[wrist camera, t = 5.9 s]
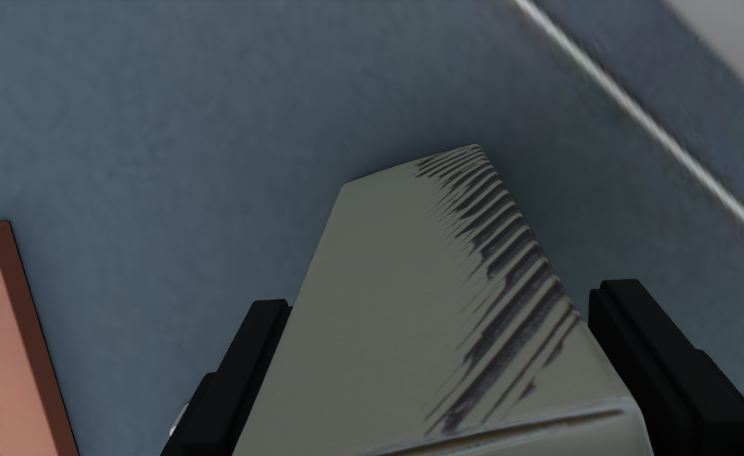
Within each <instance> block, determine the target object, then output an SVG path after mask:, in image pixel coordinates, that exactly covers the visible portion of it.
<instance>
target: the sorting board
mask: <svg viewBox="0 0 744 456" xmlns="http://www.w3.org/2000/svg"><path fill="white" fill-rule="evenodd" d="M0 456H79V455H78V452H77V449H76V445H75V442H74V439H73V435H72V432H71V429H70V425H69V422H68V418H67V415H66V412H65V408H64V405H63V402H62V398H61V395H60V392H59V388H58V385H57V382H56V378H55V375H54V372H53V368H52V365H51V362H50V358H49V355H48V351H47V348H46V345H45V341H44V338H43V335H42V331H41V328H40V325H39V321H38V318H37V315H36V311H35V308H34V305H33V301H32V298H31V295H30V291H29V288H28V284H27V281H26V278H25V274H24V271H23V268H22V264H21V261H20V258H19V254H18V251H17V248H16V244H15V241H14V238H13V234H12V231H11V227H10V224H9V222H0Z"/></svg>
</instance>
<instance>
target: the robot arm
mask: <svg viewBox="0 0 744 456" xmlns="http://www.w3.org/2000/svg"><path fill="white" fill-rule="evenodd" d="M292 309H293V306H290V307H288V304H287V301H286V300H285V299H276V300H259V301H254V302H253V304H252V306H251V307H250V309H249V311H248V313H247V315H246V317H245V319H244V321H243V323H242V324H241V326H240V328H239V330H238V332H237V334H236V336H235V338H234V339H233V341H232V343H231V345H230V347H229V349H228V351H227V353H226V355H225V356H224V358H223V360H222V362H221V364H220V366H219V368H218V370H217V372H213V373H208V374H206V375H205V376H204V378H203V379H202V381H201V383H200V385H199V386H198V388H197V390H196V392H195V393H194V395H193V397H192V399H191V401H190V402H189V404H188V406H187V408H186V410H185V411H184V413H183V415H182V417H181V419H180V420H179V422H178V424H177V426H176V428H175V429H174V431H173V433H172V435H171V437H170V438H169V440H168V442H167V444H166V446H165V447H164V449H163V451H162V453H161V455H160V456H232V454H233V452H234V450H235V447H236V445H237V442H238V440H239V438H240V435H241V433H242V431H243V429H244V427H245V424H246V422H247V420H248V417H249V415H250V412H251V410H252V407H253V405H254V402H255V400H256V398H257V395H258V393H259V391H260V388H261V386H262V383H263V381H264V378H265V376H266V373H267V371H268V368H269V366H270V363H271V361H272V358H273V356H274V354H275V351H276V349H277V346H278V344H279V341H280V339H281V336H282V334H283V331H284V329H285V326H286V324H287V321H288V318H289V316H290V313H291V311H292ZM588 328H589V330H590V331H591V333H592V334H593V336H594V337H595V339H596V341H597V342H598V344H599V345H600V347H601V348H602V350H603V351H604V353H605V355H606V356H607V358H608V359H609V361H610V363H611V364H612V366H613V368H614V369H615V371H616V372H617V374H618V375H619V377H620V378H621V380H622V381H623V382H624V384H625V385H626V387H627V388H628V390H629V391H630V393H631V395H632V396H633V398H634V400H635V401H636V403H637V405H638V406H639V408H640V410H641V412H642V415H643V418H644V421H645V425H646V429H647V433H648V436H649V440H650V443H651V447H652V450H653V454H654V456H744V397H743V396H742V394H741V393H740V392H739V391H738V390H737V389H736V387H735V386H734V385H733V384H732V383H731V382H730V380H729V379H728V378H727V377H726V376H725V374H724V373H723V372H722V371H721V370H720V369H719V367H718V366H717V365H716V364H715V363H714V362H713V360H712V359H711V358H710V357H709V356H708V355H707V354H706V353H705V352H704V351H703V350H699V349H695V348H694V346H693V345H692V344H691V343H690V342H689V340H688V339H687V338H686V337H685V336H684V334H683V333H682V332H681V331H680V330H679V328H678V327H677V326H676V325H675V324H674V322H673V321H672V320H671V319H670V318H669V316H668V315H667V314H666V313H665V312H664V311H663V309H662V308H661V307H660V306H659V305H658V303H657V302H656V301H655V300H654V299H653V297H652V296H651V295H650V294H649V293H648V291H647V290H646V289H645V288H644V287H643V285H642V284H641V283H640V282H639V281H638V280H637V279H621V280H604V281H602V282H601V284H600V288H599V289H591V291H590V294H589V314H588Z"/></svg>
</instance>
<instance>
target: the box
mask: <svg viewBox="0 0 744 456" xmlns="http://www.w3.org/2000/svg"><path fill="white" fill-rule="evenodd" d="M232 456H654V454H653V450H652V447H651V443H650V440H649V436H648V433H647V429H646V425H645V421H644V418H643V415H642V412H641V410H640V408H639V406H638V405H637V403H636V401H635V400H634V398H633V396H632V395H631V393H630V391H629V390H628V388H627V387H626V385H625V384H624V382H623V381H622V380H621V378H620V377H619V375H618V374H617V372H616V371H615V369H614V368H613V366H612V364H611V363H610V361H609V359H608V358H607V356H606V355H605V353H604V351H603V350H602V348H601V347H600V345H599V344H598V342H597V341H596V339H595V337H594V336H593V334H592V333H591V331H590V330H589V328H588V327H587V325H586V324H585V322H584V321H583V319H582V317H581V316H580V314H579V312H578V310H577V308H576V306H575V305H574V303H573V302H572V301H571V299H570V298H569V296H568V294H567V293H566V291H565V289H564V288H563V285H562V283H561V281H560V280H559V278H558V277H557V276H556V274H555V272H554V270H553V269H552V267H551V265H550V263H549V262H548V260H547V259H546V257H545V254H544V252H543V250H542V248H541V247H540V245H539V244H538V243H537V241H536V239H535V236H534V234H533V232H532V231H531V229H530V228H529V227H528V225H527V223H526V220H525V219H524V217H523V216H522V214H521V213H520V211H519V208H518V207H517V205H516V204H515V203H514V201H513V198H512V196H511V195H510V194H509V192H508V191H507V189H506V187H505V185H504V183H503V182H502V181H501V179H500V177H499V175H498V174H497V172H496V170H495V168H494V167H493V166H492V164H491V162H490V161H489V159H488V157H487V156H486V154H485V152H484V151H483V149H482V147H481V146H480V145H478V144H472V145H468V146H464V147H461V148H457V149H454V150H450V151H446V152H443V153H439V154H435V155H432V156H428V157H425V158H421V159H418V160H414V161H411V162H407V163H404V164H401V165H397V166H394V167H391V168H388V169H385V170H382V171H379V172H376V173H373V174H370V175H367V176H365V177H362V178H359V179H356V180H353V181H351V182H348V183H346V184H344V185H343V186H342V187H341V189H340V192H339V194H338V197H337V199H336V202H335V205H334V207H333V210H332V212H331V214H330V217H329V219H328V222H327V225H326V227H325V229H324V232H323V234H322V237H321V239H320V242H319V244H318V247H317V249H316V251H315V254H314V256H313V259H312V261H311V264H310V266H309V269H308V271H307V274H306V277H305V279H304V281H303V284H302V286H301V288H300V291H299V294H298V296H297V299H296V301H295V304H294V306H293V309H292V311H291V313H290V316H289V318H288V321H287V324H286V326H285V329H284V331H283V334H282V336H281V339H280V341H279V344H278V346H277V349H276V351H275V354H274V356H273V358H272V361H271V363H270V366H269V368H268V371H267V373H266V376H265V378H264V381H263V383H262V386H261V388H260V391H259V393H258V395H257V398H256V400H255V402H254V405H253V407H252V410H251V412H250V415H249V417H248V420H247V422H246V424H245V427H244V429H243V431H242V433H241V435H240V438H239V440H238V442H237V445H236V447H235V450H234V452H233V454H232Z"/></svg>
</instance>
